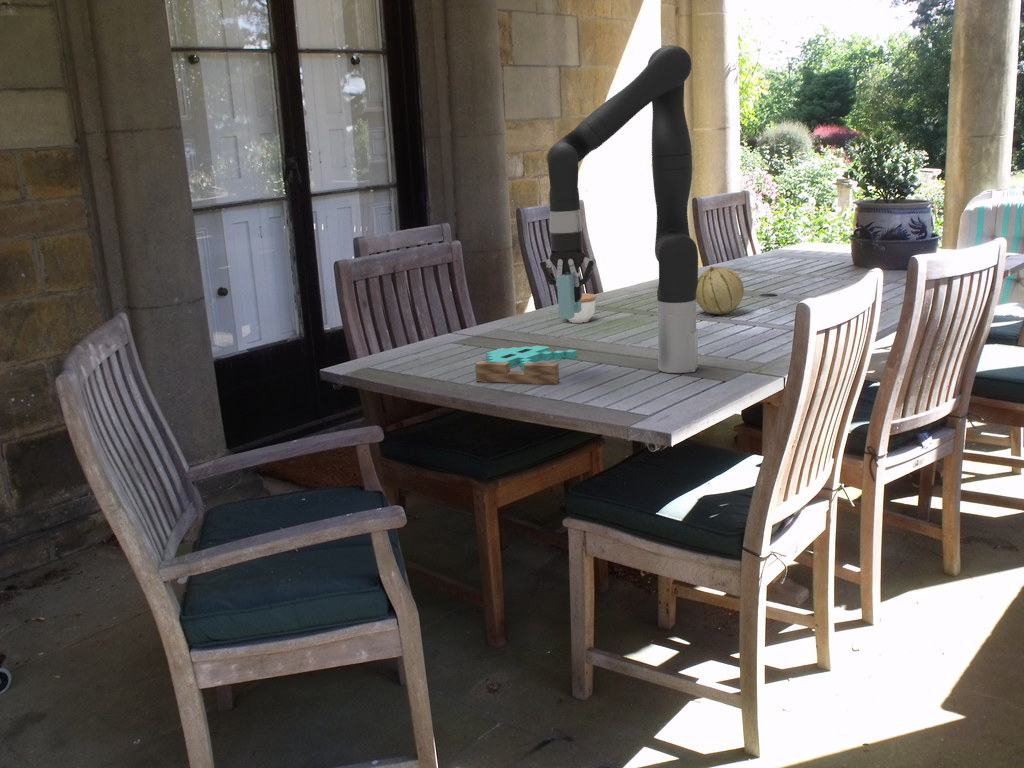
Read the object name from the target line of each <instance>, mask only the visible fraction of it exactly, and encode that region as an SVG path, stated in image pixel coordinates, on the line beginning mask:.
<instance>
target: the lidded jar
mask: <svg viewBox="0 0 1024 768" xmlns="http://www.w3.org/2000/svg"><path fill="white" fill-rule="evenodd" d="M596 300H597V297H596V294H593V293H585V292H584V293H583V292H582V298H581V309H582V311H580V312H579V313H574V317H573V318H572V319H567V320H568V322H569V323H571V322H572V323H571V324H583V322H584V323H588V322H589V320H590V319H591V318H592V317H593V316H594V314H595V310H596Z"/></svg>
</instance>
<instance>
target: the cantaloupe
mask: <svg viewBox="0 0 1024 768" xmlns="http://www.w3.org/2000/svg"><path fill="white" fill-rule="evenodd" d="M744 293H745V288H744V284H743V281H742V279H741V277H740V276H739V274H738V273H737V272H736V271H734V270H733V269H731V268H729V267H726V266H723V265H722V266H714V267H713V266H710V268H708V269H707V270H705V271H703V272H702V273H701V274H699V275H698V286H697V291H696V304H698V306H699V307H700V308H701V309H702V310H703V311H705V312H706V313H709V314H710V315H711V314H712V315H724V314H725V315H727V314H728V313H729V314H730V313H731V312H733V311H735V310H736V308H738V307H739V306H740V304H741V302H742V300H743V298H744Z"/></svg>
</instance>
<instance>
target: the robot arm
mask: <svg viewBox="0 0 1024 768" xmlns="http://www.w3.org/2000/svg"><path fill="white" fill-rule="evenodd" d="M691 71H692V58H691V56H690V54H689V53H688V51H687V50H686V49H685V48H683V47H682V46H679V45H674V44H672V45H671V44H670V45H669V44H668V45H664V46H662V47H659V48H658V49H656V50H655V51H654V52H653V53H652V54H651V56H650V57H649V59H648V63H647V65H646V66H645V67H644V69H642V71H641V72H640V73H639V75H637V76H636V77H635V78H634V79H633V80H632V81H631V82H630V83H629V84H628V85H626V86H625V87H623V89H621V90H620V91H618V92H617V93H616V94H614V95H613V96H611V98H609V99H608V100H606V101H605V102H604V103H602V104H601V105H599V106H598V107H597V108H596V109H595V110H594V111H592V112H591V113H590V114H589V115H588V116H587V117H584V119H583V120H582V121H581V122H579V124H577V126H576V127H575V128H574V129H572V130H571V131H570V132H568V133H566V135H565V136H563V137H562V138H560V140H558V141H557V142H556V143H554V144H553V145H552V146H551V147H550V148H549V149H548V151H547V155H546V163H547V166H548V177H549V192H548V193H549V195H548V196H549V197H548V198H549V226H548V227H549V234H550V237H549V238H550V251H551V253H550V255H549V258H548V259H544V260H542V261H540V262H539V265H540V268H541V270H542V272H543V274H544V276H545V279H546V280H547V282H548V284H549V285H551V286H552V285H553V286H555V287H556V288H557V277H558V276H559V275H562V273H566V272H569V273H571V274H573V279H574V285H575V287H574V296H575V302H579V300H580V299H581V298H582V293H583V292H582V286H583V285H585V284H587V283H588V282H589V280H590V278H591V275H592V273H593V270H594V269H595V266H596V263H597V262H596V261H597V260H596V259H594V258H589V257H586V255H585V252H584V246H583V245H584V244H583V241H584V240H583V227H582V226H583V224H582V222H583V221H582V215H581V207H580V206H581V205H580V203H581V202H580V193H579V191H580V190H579V163H580V162H581V161H582V160H583V159H585V157H586V156H588V155H589V154H591V152H593V151H595V150H597V149H598V148H600V147H601V146H602V145H603V144H605V143H606V142H607V141H608V140H609V139H610V138H612V137H613V136H614V135H615V134H616V133H617V132H619V130H621V129H622V128H623V127H624V126H625V125H626V124H627V123H628V122H629V121H630V120H631V119H633V118H634V117H635V116H636V115H637V114H638V113H640V112H641V111H642V110H643V109H644V108H645V107H647V105H649V104H650V103H651V107H652V120H651V121H652V123H651V165H652V166H651V167H652V168H651V169H652V170H651V171H652V178H653V179H652V182H653V193H654V198H655V205H656V206H655V207H656V227H655V228H656V231H655V242H654V243H655V244H654V253H655V254H654V255H655V257H656V260H657V262H658V286H657V290H656V292H657V293H656V294H657V295H656V296H657V297H656V298H657V299H656V300H657V302H656V305H657V308H656V309H657V358H658V359H657V365H658V366H657V367H658V368H657V369H658V371H660V372H663V373H669V374H683V373H684V374H686V373H695V372H696V370H697V368H698V366H699V340H698V339H699V338H698V337H699V335H698V333H699V331H698V328H697V301H696V291H697V286H698V278H699V251H698V246H697V244H696V242H695V241H694V239H693V238H692V237H691V236H690V229H689V227H690V226H689V218H688V207H689V198H690V192H691V187H692V179H693V154H692V153H693V151H692V142H691V136H690V131H689V127H688V123H687V119H686V113H685V101H684V100H685V99H684V98H685V82H686V80H687V79H688V78H689V76H690V73H691ZM583 263H584V267H585V271H584V273H583V276H582V277H581V271H580V268H581V266H582V265H583ZM552 265H553V267H555V269H556V275H554V272H553V271H552V269H551V268H552ZM555 276H556V277H555ZM556 291H557V292H556V294H557V299H558V290H557V289H556Z"/></svg>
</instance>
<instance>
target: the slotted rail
mask: <svg viewBox="0 0 1024 768" xmlns="http://www.w3.org/2000/svg"><path fill="white" fill-rule="evenodd" d="M559 368H560V367H559V362H538V361H536V362H527V363H526V364H524V371H523V370H522V371H520V370H519V371H518V370H511V367H510V362H497V361H487V360H480V361H477V362H476V363H475V379H476V380H475V382H476V381H481V382H480V383H491V382H506V383H505V384H524V383H532V384H533V385H557V384H558V383H559V382H560V369H559ZM482 381H483V382H482ZM485 381H486V382H485ZM507 382H508V383H507ZM557 382H558V383H557ZM532 384H531V385H532Z"/></svg>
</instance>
